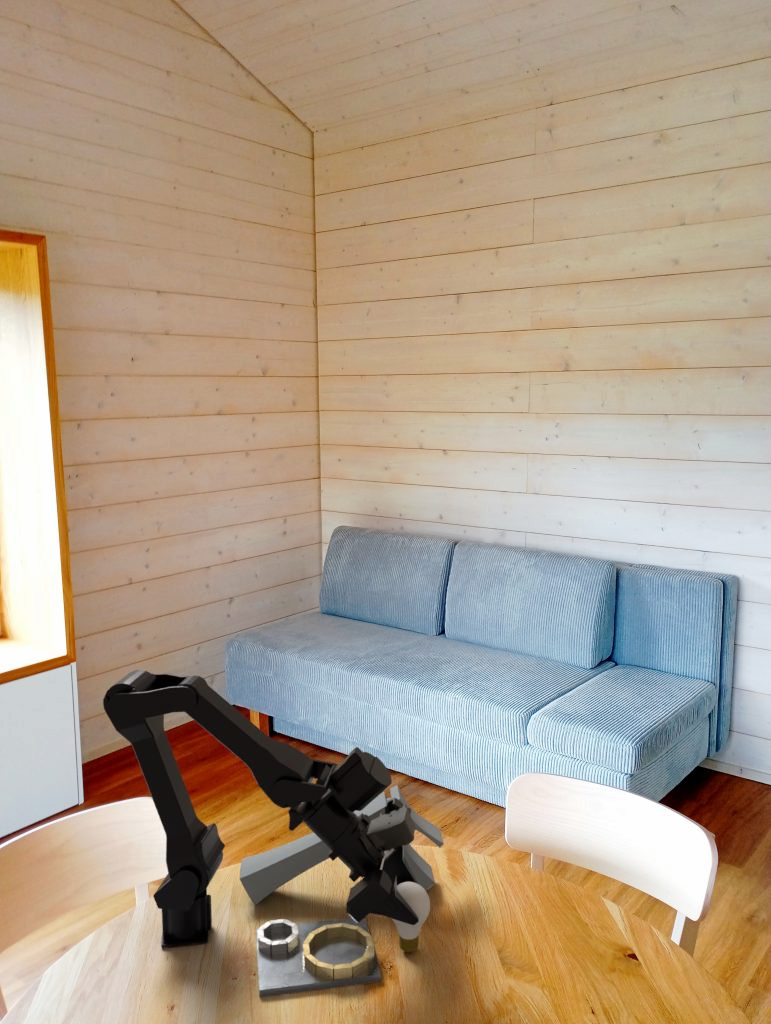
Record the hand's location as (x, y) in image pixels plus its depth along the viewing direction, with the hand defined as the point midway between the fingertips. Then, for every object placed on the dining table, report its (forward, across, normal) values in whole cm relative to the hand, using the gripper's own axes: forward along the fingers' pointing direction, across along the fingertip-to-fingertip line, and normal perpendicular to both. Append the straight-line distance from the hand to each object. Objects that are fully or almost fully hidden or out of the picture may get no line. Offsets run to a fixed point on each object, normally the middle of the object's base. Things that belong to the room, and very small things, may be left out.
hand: (418, 908), depth 119 cm
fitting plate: (-5, -3, +15) cm, 16 cm away
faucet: (-4, +13, +14) cm, 20 cm away
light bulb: (+4, 0, +6) cm, 7 cm away
